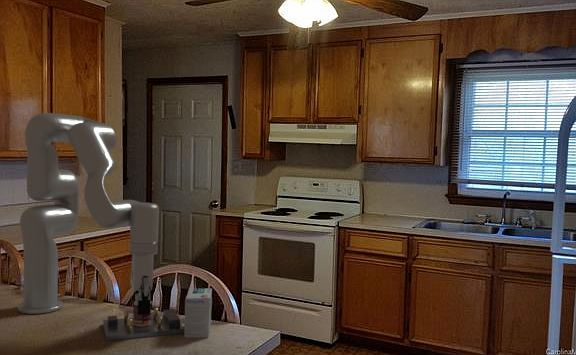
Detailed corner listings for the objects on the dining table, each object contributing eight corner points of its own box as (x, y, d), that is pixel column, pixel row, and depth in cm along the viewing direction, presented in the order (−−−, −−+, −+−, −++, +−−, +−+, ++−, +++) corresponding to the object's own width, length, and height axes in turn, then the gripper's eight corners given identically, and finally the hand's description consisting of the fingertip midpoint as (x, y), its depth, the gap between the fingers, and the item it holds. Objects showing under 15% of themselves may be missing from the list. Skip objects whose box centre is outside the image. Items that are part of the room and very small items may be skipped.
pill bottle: (146, 327, 144) (146, 297, 144) (130, 326, 145) (130, 295, 145) (154, 322, 149) (154, 292, 148) (138, 320, 150) (138, 291, 149)
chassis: (103, 324, 149) (103, 309, 149) (174, 318, 157) (174, 304, 157) (106, 340, 136) (106, 324, 136) (183, 333, 144) (184, 317, 144)
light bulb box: (187, 325, 151) (188, 287, 151) (211, 325, 152) (212, 287, 151) (183, 338, 140) (184, 297, 140) (209, 338, 141) (210, 297, 141)
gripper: (126, 242, 152) (124, 301, 153) (133, 254, 137) (130, 319, 137) (153, 242, 155) (150, 299, 156) (162, 253, 139) (160, 317, 140)
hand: (141, 309), depth 147 cm, fingers open, 9 cm apart
